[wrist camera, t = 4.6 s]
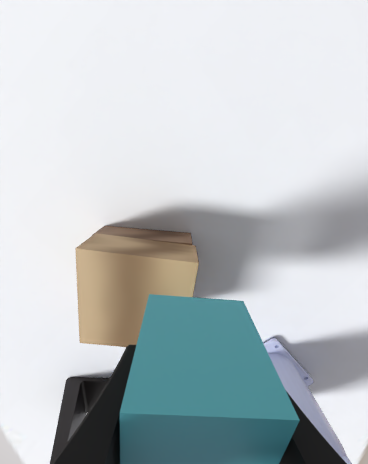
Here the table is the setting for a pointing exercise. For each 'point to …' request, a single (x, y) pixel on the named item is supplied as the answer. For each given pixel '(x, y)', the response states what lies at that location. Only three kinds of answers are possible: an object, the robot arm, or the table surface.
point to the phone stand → (75, 407)
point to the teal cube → (203, 388)
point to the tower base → (148, 234)
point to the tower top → (127, 283)
